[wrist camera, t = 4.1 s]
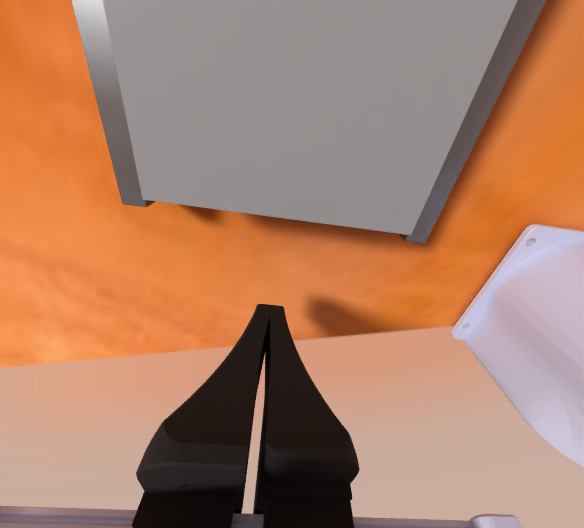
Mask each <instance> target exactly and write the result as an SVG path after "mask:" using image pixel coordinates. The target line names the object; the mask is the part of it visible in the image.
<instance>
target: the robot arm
mask: <svg viewBox="0 0 584 528" xmlns="http://www.w3.org/2000/svg"><path fill="white" fill-rule="evenodd" d="M450 335H451V336H452V338H454V339H459V340H464V342H465V343H466V344H467V345H468V347H469V348H470V350H471V351H472V352H473V354H474V355H475V356H476V357H477V359H478V360H479V361H480V363H481V364H482V365H483V367H484V368H485V369H486V371H487V372H488V373H489V375H490V376H491V377H492V378H493V380H494V381H495V382H496V383H497V385H498V386H499V388H500V389H501V390H502V391H503V393H504V394H505V396H506V397H507V398H508V399H509V401H510V402H511V403H512V405H513V406H514V407H515V409H516V410H517V411H518V413H519V414H520V415H521V416H522V417H523V419H524V420H525V421H526V422H527V423H528V424H529V425H530V426H531V427H532V428H533V429H534V430H535V431H536V432H537V433H538V434H539V435H540V436H541V437H542V438H543V439H545V440H546V441H547V442H548V443H549V444H551V445H552V446H553V447H554V448H556V449H557V450H558V451H560V452H561V453H562V454H563V455H565V456H567V457H568V458H570V459H571V460H573V461H574V462H576V463H578V464H579V465H581V466H583V467H584V231H582V230H575V229H568V228H561V227H554V226H547V225H540V224H533V225H530V226H528V227H527V228H526V229H525V230H524V231H523V232H522V233H521V235H520V236H519V238H518V239H517V240H516V242H515V243H514V244H513V246H512V247H511V249H510V250H509V251H508V253H507V254H506V255H505V257H504V258H503V260H502V261H501V262H500V264H499V265H498V266H497V268H496V269H495V271H494V272H493V273H492V275H491V276H490V277H489V279H488V280H487V282H486V283H485V284H484V286H483V287H482V288H481V290H480V291H479V293H478V294H477V295H476V297H475V298H474V299H473V301H472V302H471V304H470V305H469V306H468V308H467V309H466V310H465V312H464V313H463V315H462V316H461V317H460V319H459V320H458V321H457V323H456V324H455V326H454V327H453V328H452V330H451V331H450ZM264 355H265V398H264V410H263V421H262V431H261V441H260V452H259V461H258V471H257V481H256V490H255V500H254V510H253V514H241V512H242V507H243V499H244V490H245V482H246V473H247V465H248V457H249V448H250V441H251V431H252V425H253V416H254V408H255V400H256V394H257V389H258V384H259V379H260V374H261V369H262V364H263V359H264ZM358 472H359V464H358V459H357V455H356V452H355V449H354V446H353V443H352V440H351V437H350V435H349V433H348V431H347V430H346V429H345V428H344V426H343V425H342V424H341V422H340V421H339V420H338V419H337V418H336V416H335V415H334V413H333V412H332V411H331V409H330V408H329V406H328V405H327V403H326V402H325V401H324V399H323V397H322V396H321V394H320V393H319V391H318V389H317V388H316V386H315V385H314V383H313V381H312V380H311V378H310V376H309V374H308V373H307V371H306V369H305V367H304V365H303V363H302V361H301V359H300V356H299V354H298V352H297V350H296V347H295V345H294V342H293V339H292V337H291V334H290V331H289V328H288V324H287V321H286V317H285V311H284V307H283V306H276V305H266V304H258V305H257V307H256V310H255V312H254V314H253V317H252V319H251V320H250V322H249V324H248V326H247V328H246V329H245V331H244V333H243V334H242V336H241V338H240V339H239V340H238V342H237V343H236V345H235V346H234V348H233V349H232V351H231V352H230V353H229V355H228V356H227V357H226V359H225V360H224V361H223V362H222V363H221V365H220V366H219V367H218V368H217V369H216V370H215V372H214V373H213V374H212V375H211V376H210V377H209V378H208V379H207V381H206V382H205V383H204V384H203V385H202V386H201V387H200V388H199V389H198V390H197V391H196V392H195V393H194V394H193V395H192V396H191V397H190V398H189V399H188V400H187V401H185V402H184V403H183V404H182V405H181V406H180V407H179V408H178V409H177V410H175V411H174V412H173V413H172V414H171V415H170V416H169V417H168V418H166V419H165V420H164V421H163V423H162V424H161V425H160V427H159V428H158V430H157V432H156V433H155V435H154V437H153V438H152V440H151V442H150V444H149V445H148V447H147V449H146V451H145V453H144V456H143V459H142V460H141V463H140V465H139V467H138V470H137V472H136V475H137V478H138V481H139V482H140V484H141V486H142V487H143V489H144V491H145V492H144V494H143V497H142V499H141V502H140V504H139V507H138V510H110V509H79V508H48V507H15V506H0V528H522V526H521V525H520V523H519V521H518V519H517V518H516V517H515V516H514V515H498V514H497V515H496V514H483V515H478V516H475V517H473V518H471V519H470V521H457V520H426V519H393V518H364V517H353V516H352V510H351V503H350V500H352V492H351V487H350V483H351V482H352V481H353V480H354V478H355V477H356V476H357V474H358Z"/></svg>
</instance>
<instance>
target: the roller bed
mask: <svg viewBox="0 0 584 528" xmlns="http://www.w3.org/2000/svg"><path fill="white" fill-rule="evenodd" d="M545 2H546V0H517V3H516V5H515V7H514V9H513V11H512V14H511V16H510V18H509V20H508V22H507V25H506V27H505V29H504V31H503V33H502V36H501V38H500V40H499V42H498V44H497V47H496V49H495V51H494V53H493V55H492V58H491V60H490V62H489V64H488V66H487V69H486V71H485V73H484V75H483V78H482V80H481V82H480V84H479V86H478V89H477V91H476V93H475V95H474V97H473V100H472V102H471V104H470V106H469V108H468V111H467V113H466V115H465V117H464V119H463V122H462V124H461V126H460V128H459V130H458V133H457V135H456V137H455V139H454V141H453V144H452V146H451V148H450V150H449V152H448V155H447V157H446V159H445V161H444V163H443V166H442V168H441V170H440V172H439V175H438V177H437V179H436V181H435V183H434V186H433V188H432V190H431V192H430V194H429V197H428V199H427V201H426V203H425V205H424V208H423V210H422V212H421V214H420V216H419V219H418V221H417V223H416V225H415V227H414V230H413V232H412V234H411V235H406V234H399V235H400V236H401V237H402V238H403V239H404V241H408V242H416V243H423V244H425V243H426V241H427V239H428V237H429V235H430V233H431V231H432V229H433V227H434V225H435V223H436V221H437V219H438V217H439V215H440V213H441V211H442V209H443V207H444V205H445V203H446V201H447V199H448V197H449V195H450V193H451V191H452V189H453V187H454V185H455V183H456V181H457V179H458V177H459V175H460V173H461V171H462V169H463V167H464V165H465V163H466V161H467V159H468V157H469V155H470V153H471V151H472V149H473V147H474V145H475V143H476V141H477V139H478V137H479V135H480V133H481V131H482V129H483V127H484V125H485V123H486V121H487V119H488V116H489V114H490V112H491V110H492V108H493V106H494V104H495V102H496V100H497V98H498V96H499V94H500V92H501V90H502V88H503V86H504V84H505V82H506V80H507V78H508V76H509V74H510V72H511V70H512V68H513V66H514V64H515V62H516V60H517V58H518V56H519V54H520V52H521V50H522V48H523V46H524V44H525V42H526V40H527V38H528V36H529V34H530V32H531V30H532V28H533V26H534V24H535V22H536V20H537V18H538V16H539V14H540V12H541V10H542V8H543V6H544V4H545ZM72 4H73V8H74V12H75V16H76V20H77V24H78V28H79V32H80V36H81V40H82V44H83V48H84V52H85V56H86V60H87V64H88V68H89V72H90V76H91V80H92V84H93V88H94V92H95V96H96V100H97V104H98V108H99V112H100V116H101V120H102V124H103V128H104V132H105V136H106V140H107V144H108V148H109V152H110V156H111V160H112V164H113V168H114V172H115V176H116V180H117V184H118V188H119V192H120V196H121V200H122V204H125V205H133V206H141V207H148V206H149V205H151V204H152V203H154V202H156V201H150V200H143V199H142V194H141V189H140V184H139V179H138V174H137V169H136V164H135V159H134V154H133V149H132V144H131V139H130V134H129V129H128V124H127V119H126V114H125V109H124V104H123V99H122V94H121V89H120V84H119V79H118V74H117V69H116V64H115V59H114V54H113V49H112V44H111V39H110V34H109V29H108V24H107V19H106V14H105V9H104V4H103V0H72Z"/></svg>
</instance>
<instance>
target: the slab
mask: <svg viewBox="0 0 584 528" xmlns="http://www.w3.org/2000/svg"><path fill="white" fill-rule="evenodd" d="M516 3H517V0H103V4H104V9H105V14H106V19H107V24H108V29H109V34H110V39H111V44H112V49H113V54H114V59H115V64H116V69H117V74H118V79H119V84H120V89H121V94H122V99H123V104H124V109H125V114H126V119H127V124H128V129H129V134H130V139H131V144H132V149H133V154H134V159H135V164H136V169H137V174H138V179H139V184H140V189H141V194H142V199H143V200H150V201H158V202H165V203H173V204H181V205H188V206H196V207H203V208H211V209H218V210H226V211H233V212H241V213H248V214H256V215H263V216H271V217H278V218H286V219H293V220H301V221H308V222H316V223H323V224H331V225H338V226H346V227H353V228H361V229H368V230H376V231H383V232H391V233H398V234H406V235H411V234H412V232H413V230H414V227H415V225H416V223H417V221H418V219H419V216H420V214H421V212H422V210H423V208H424V205H425V203H426V201H427V199H428V197H429V194H430V192H431V190H432V188H433V186H434V183H435V181H436V179H437V177H438V175H439V172H440V170H441V168H442V166H443V163H444V161H445V159H446V157H447V155H448V152H449V150H450V148H451V146H452V144H453V141H454V139H455V137H456V135H457V133H458V130H459V128H460V126H461V124H462V122H463V119H464V117H465V115H466V113H467V111H468V108H469V106H470V104H471V102H472V100H473V97H474V95H475V93H476V91H477V89H478V86H479V84H480V82H481V80H482V78H483V75H484V73H485V71H486V69H487V66H488V64H489V62H490V60H491V58H492V55H493V53H494V51H495V49H496V47H497V44H498V42H499V40H500V38H501V36H502V33H503V31H504V29H505V27H506V25H507V22H508V20H509V18H510V16H511V14H512V11H513V9H514V7H515V5H516Z"/></svg>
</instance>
